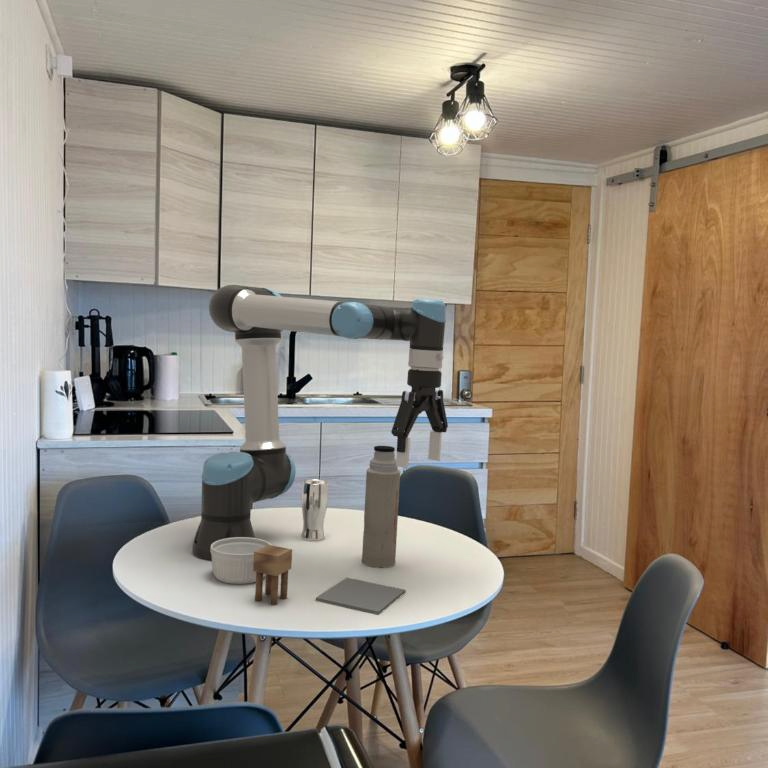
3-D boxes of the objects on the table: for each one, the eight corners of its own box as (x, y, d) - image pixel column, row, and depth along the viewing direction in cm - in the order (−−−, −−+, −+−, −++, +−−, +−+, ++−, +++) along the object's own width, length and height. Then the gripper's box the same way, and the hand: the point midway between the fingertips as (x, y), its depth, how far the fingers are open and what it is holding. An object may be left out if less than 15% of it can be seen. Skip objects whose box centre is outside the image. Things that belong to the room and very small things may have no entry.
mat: (315, 600, 145) (315, 597, 145) (346, 580, 158) (346, 577, 158) (378, 614, 139) (378, 611, 139) (405, 592, 152) (405, 589, 152)
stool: (251, 600, 143) (253, 551, 142) (267, 592, 148) (269, 544, 147) (275, 606, 141) (277, 556, 140) (289, 597, 146) (292, 549, 145)
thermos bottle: (397, 559, 174) (404, 445, 172) (391, 569, 166) (398, 450, 164) (366, 555, 176) (372, 442, 174) (358, 565, 168) (364, 447, 166)
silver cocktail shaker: (331, 537, 189) (334, 481, 188) (315, 543, 184) (317, 485, 182) (310, 532, 193) (313, 477, 192) (294, 538, 187) (296, 481, 186)
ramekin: (238, 562, 166) (239, 533, 165) (283, 574, 159) (284, 544, 159) (196, 577, 154) (197, 546, 154) (242, 591, 148) (244, 558, 147)
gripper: (409, 371, 147) (402, 473, 148) (466, 369, 167) (459, 459, 169) (379, 368, 151) (372, 467, 153) (438, 367, 172) (432, 454, 173)
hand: (418, 463), depth 161 cm, fingers open, 13 cm apart
